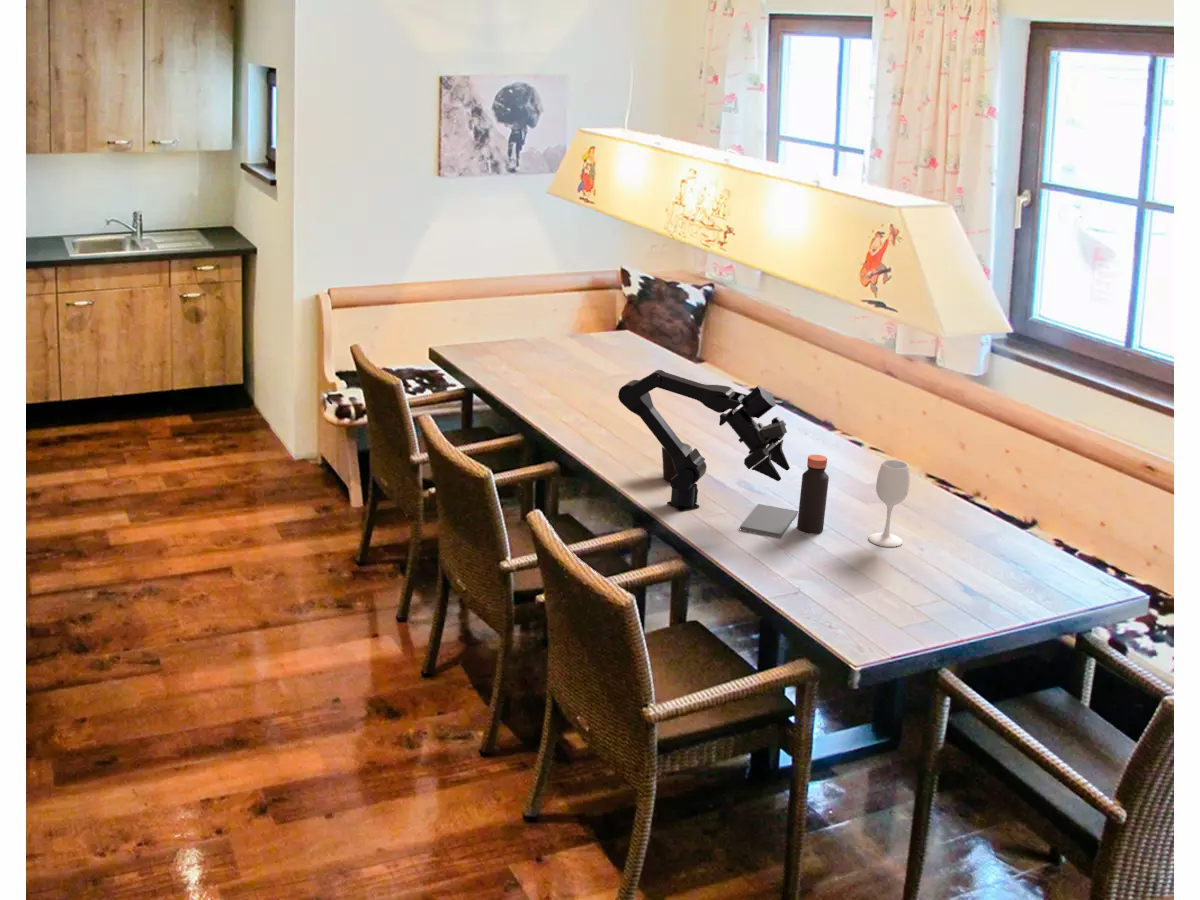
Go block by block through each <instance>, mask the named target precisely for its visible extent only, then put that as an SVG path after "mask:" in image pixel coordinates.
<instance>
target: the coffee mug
mask: <svg viewBox="0 0 1200 900" xmlns="http://www.w3.org/2000/svg"><path fill="white" fill-rule="evenodd" d="M681 442H682V441H681ZM682 443H683V445H684V446H685V447H686V448H688V449H690V450H691V451H693V446H692V445H691V444H689V443H686V442H682ZM661 455H662V456H661V457H662V473H663V474H662V475H663V481H664V480H665V481H664V482H666V481H667V482H666V483H669V484H671V483H670V480H671V479H672V478H673V477H674V476H675V475H676V474H677V472H676V470H675V467H674V463H673V460H672V458H671V456H670V455H669V454H668V452H667V451H666V450H665V448H664V447H663V446H662V445H661Z"/></svg>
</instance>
